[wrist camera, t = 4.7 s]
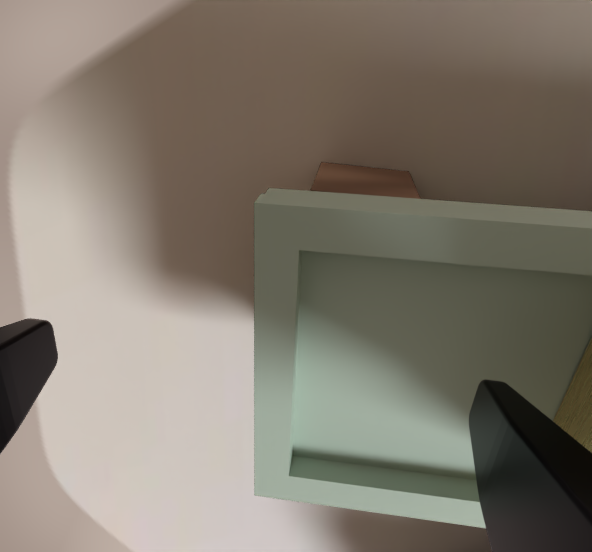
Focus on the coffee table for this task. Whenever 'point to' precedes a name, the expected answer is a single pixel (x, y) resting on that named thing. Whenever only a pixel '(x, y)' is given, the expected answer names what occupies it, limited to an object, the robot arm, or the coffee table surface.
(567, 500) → the robot arm
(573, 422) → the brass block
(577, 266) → the green rimmed tray
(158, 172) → the coffee table surface
